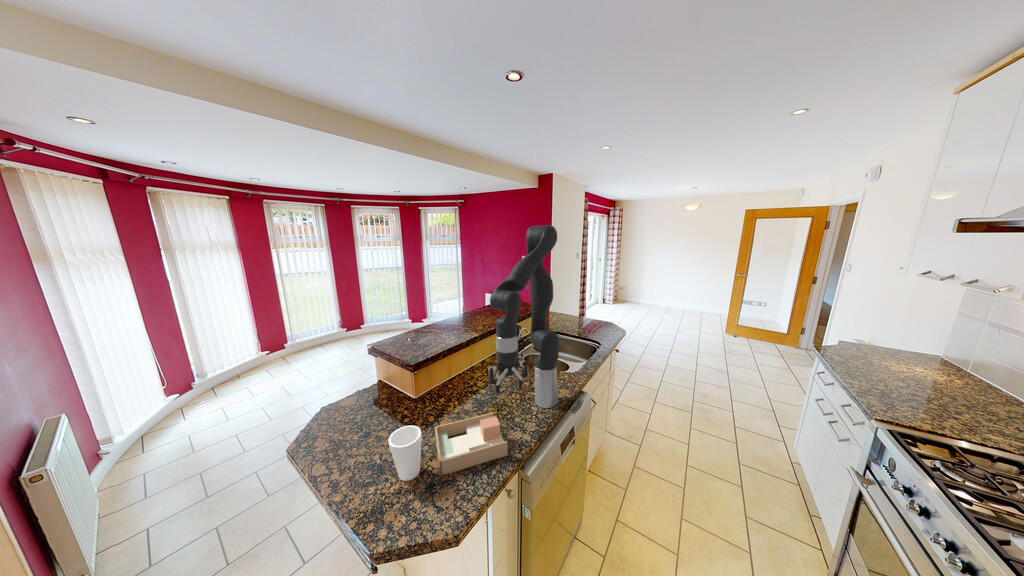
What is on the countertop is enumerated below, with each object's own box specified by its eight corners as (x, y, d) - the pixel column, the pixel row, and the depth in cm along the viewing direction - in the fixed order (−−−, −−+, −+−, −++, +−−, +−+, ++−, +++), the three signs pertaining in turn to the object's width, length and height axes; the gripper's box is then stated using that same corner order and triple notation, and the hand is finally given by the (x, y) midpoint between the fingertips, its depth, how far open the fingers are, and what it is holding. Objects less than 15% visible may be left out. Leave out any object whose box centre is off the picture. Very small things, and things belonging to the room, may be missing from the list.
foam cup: (399, 461, 92) (394, 426, 89) (427, 459, 92) (424, 424, 90) (388, 486, 83) (383, 448, 80) (420, 484, 83) (416, 446, 81)
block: (496, 428, 102) (496, 415, 102) (500, 437, 98) (500, 424, 97) (480, 432, 101) (480, 420, 100) (484, 441, 96) (483, 428, 95)
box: (493, 423, 109) (493, 412, 108) (507, 455, 93) (507, 442, 92) (435, 438, 102) (434, 426, 101) (440, 475, 86) (439, 461, 85)
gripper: (522, 340, 101) (523, 381, 105) (484, 346, 97) (486, 389, 100) (530, 348, 94) (531, 392, 98) (489, 355, 90) (492, 401, 93)
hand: (508, 390), depth 99 cm, fingers open, 7 cm apart
